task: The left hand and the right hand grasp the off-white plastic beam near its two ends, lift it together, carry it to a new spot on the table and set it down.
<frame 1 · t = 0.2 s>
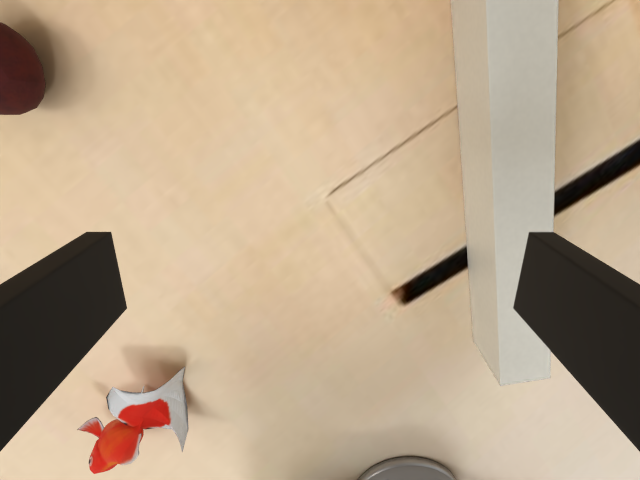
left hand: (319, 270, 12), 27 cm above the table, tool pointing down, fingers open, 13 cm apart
potato: (23, 71, 35), on the table
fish: (151, 393, 49), on the table
beam: (483, 83, 36), on the table
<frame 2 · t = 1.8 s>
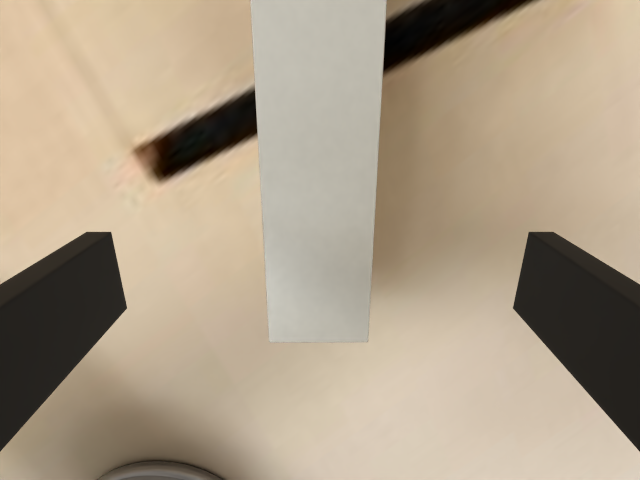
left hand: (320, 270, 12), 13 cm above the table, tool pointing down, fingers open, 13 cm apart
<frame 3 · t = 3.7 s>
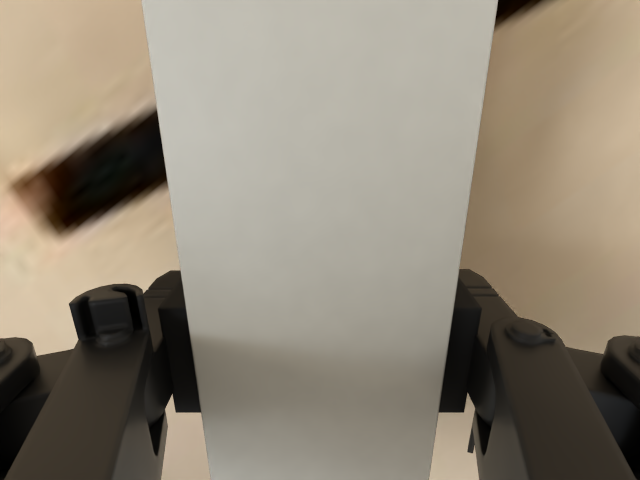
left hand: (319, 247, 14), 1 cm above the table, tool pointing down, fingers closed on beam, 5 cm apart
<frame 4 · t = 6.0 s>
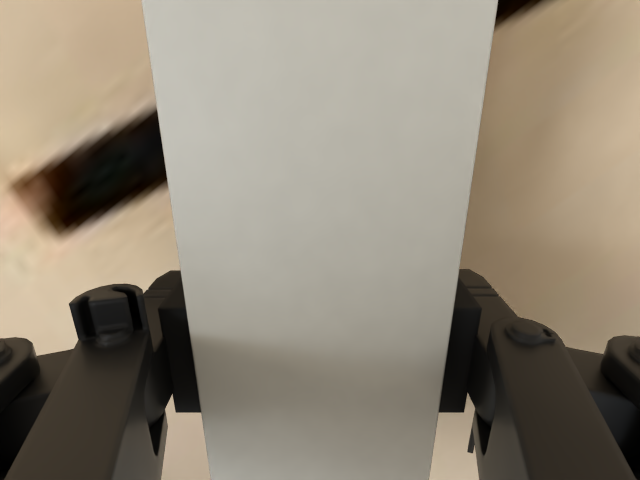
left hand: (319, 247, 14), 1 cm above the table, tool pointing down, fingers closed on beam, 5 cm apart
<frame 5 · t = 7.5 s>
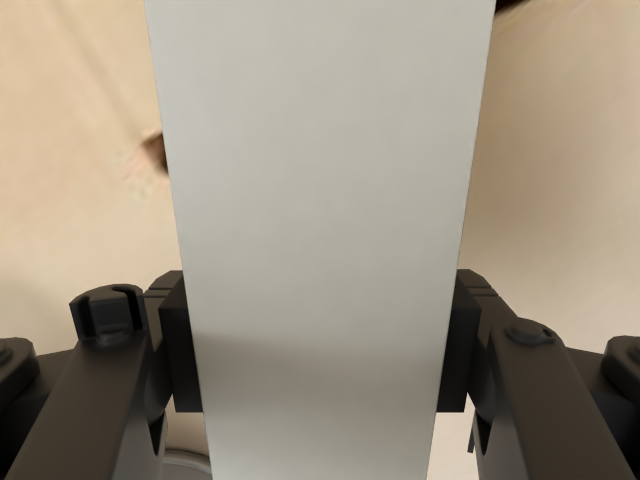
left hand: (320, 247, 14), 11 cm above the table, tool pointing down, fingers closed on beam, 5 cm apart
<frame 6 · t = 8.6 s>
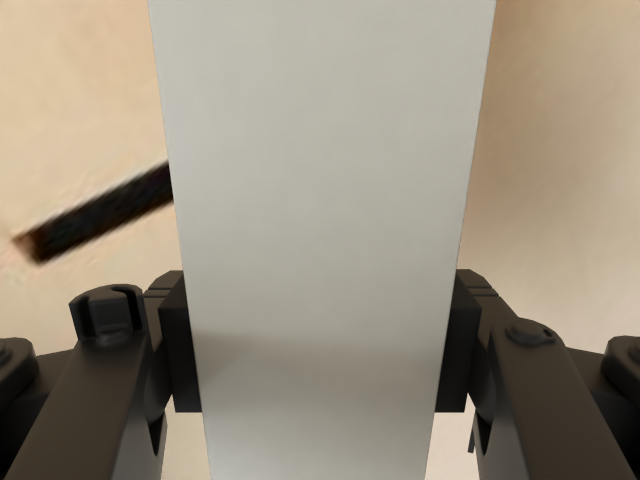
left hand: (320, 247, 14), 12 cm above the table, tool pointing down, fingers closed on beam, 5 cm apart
when the left hand's fingers open (2 cm above the table, at t = 11.2 s): beam drops 1 cm, on the table.
when the right hand's fingers open (4 cm above the table, at t = 11.4 s): beam stays where it is, on the table.
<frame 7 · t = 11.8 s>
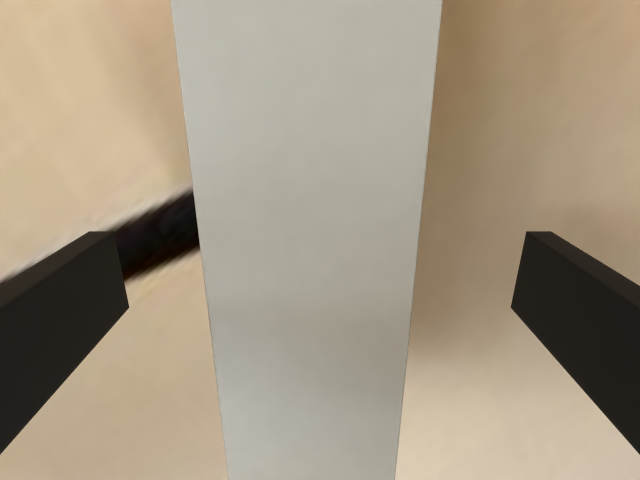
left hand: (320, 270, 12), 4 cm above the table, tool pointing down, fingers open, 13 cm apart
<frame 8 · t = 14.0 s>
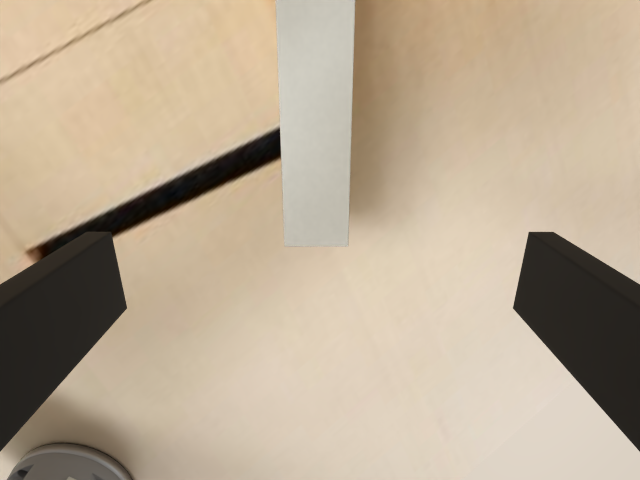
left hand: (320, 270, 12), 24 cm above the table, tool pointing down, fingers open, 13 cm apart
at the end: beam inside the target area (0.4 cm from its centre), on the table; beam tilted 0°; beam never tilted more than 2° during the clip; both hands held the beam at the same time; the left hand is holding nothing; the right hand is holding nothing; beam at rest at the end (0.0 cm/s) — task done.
